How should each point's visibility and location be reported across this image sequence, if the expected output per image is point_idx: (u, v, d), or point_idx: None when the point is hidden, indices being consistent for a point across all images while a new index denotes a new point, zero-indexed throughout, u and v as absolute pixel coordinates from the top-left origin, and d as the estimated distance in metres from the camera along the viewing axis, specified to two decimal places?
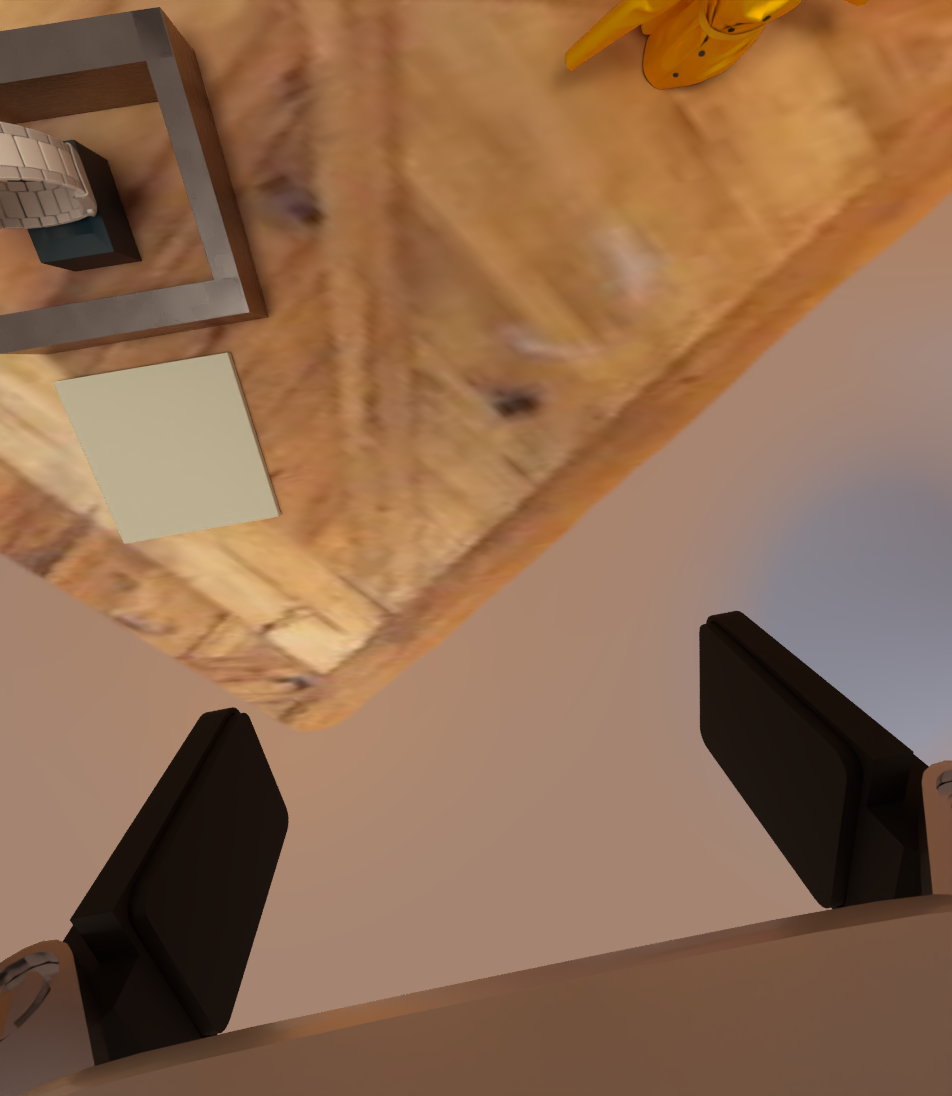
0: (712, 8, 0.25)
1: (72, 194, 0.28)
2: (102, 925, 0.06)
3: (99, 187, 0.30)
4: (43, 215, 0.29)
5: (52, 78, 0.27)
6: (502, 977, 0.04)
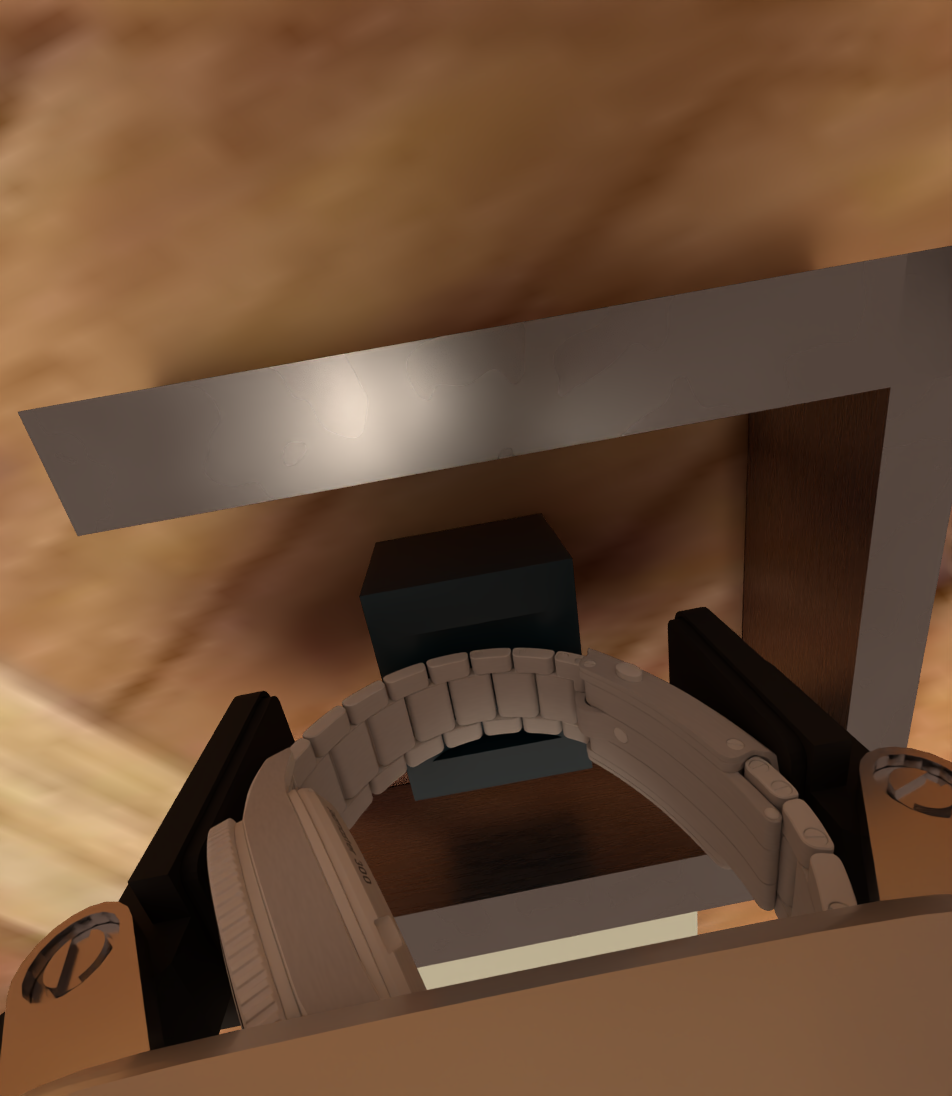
0: None
1: (593, 735, 0.10)
2: (157, 887, 0.06)
3: None
4: (455, 726, 0.11)
5: (588, 438, 0.09)
6: (502, 977, 0.04)
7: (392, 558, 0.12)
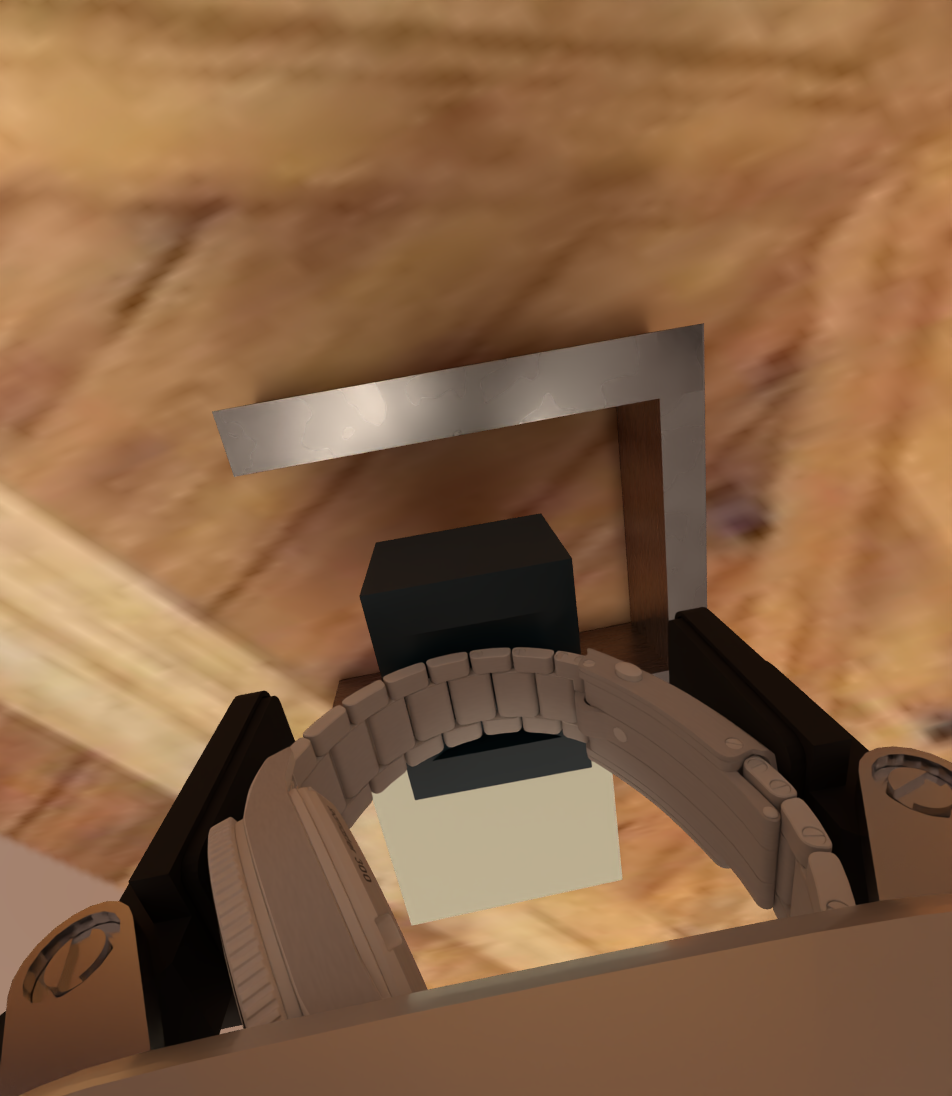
0: None
1: (592, 734, 0.10)
2: (158, 887, 0.06)
3: None
4: (455, 726, 0.11)
5: (502, 425, 0.16)
6: (502, 977, 0.04)
7: (392, 558, 0.12)
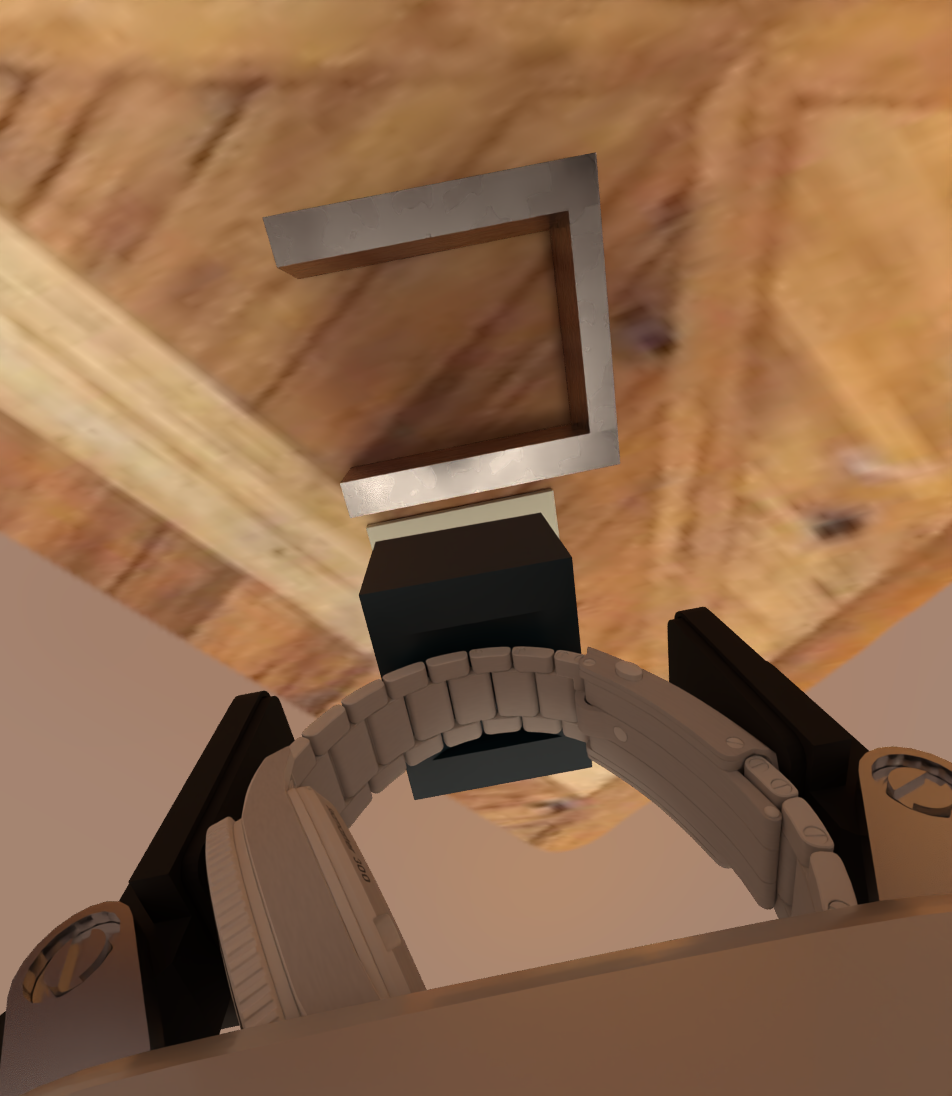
0: None
1: (592, 734, 0.10)
2: (158, 887, 0.06)
3: None
4: (454, 725, 0.11)
5: (459, 232, 0.24)
6: (502, 977, 0.04)
7: (392, 557, 0.12)
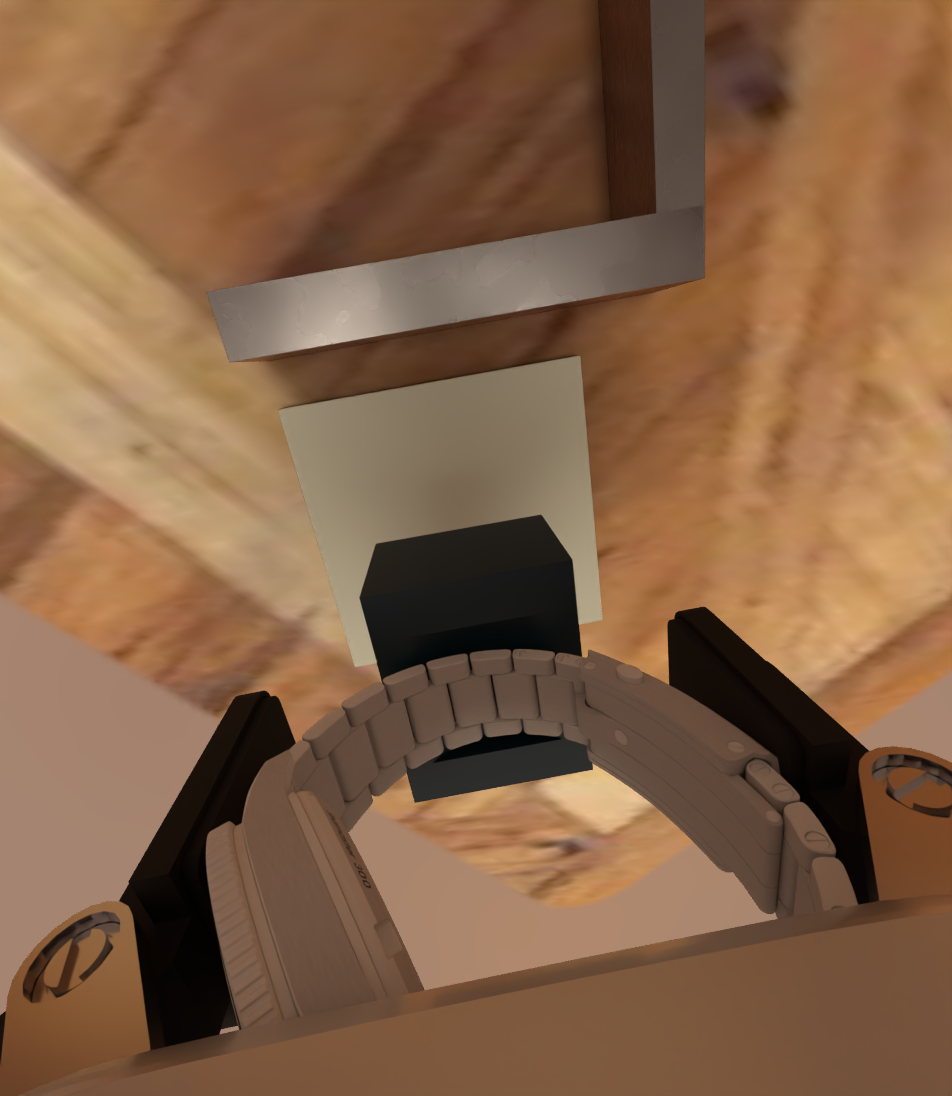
0: None
1: (593, 737, 0.10)
2: (158, 887, 0.06)
3: None
4: (455, 728, 0.11)
5: None
6: (501, 978, 0.04)
7: (392, 559, 0.12)
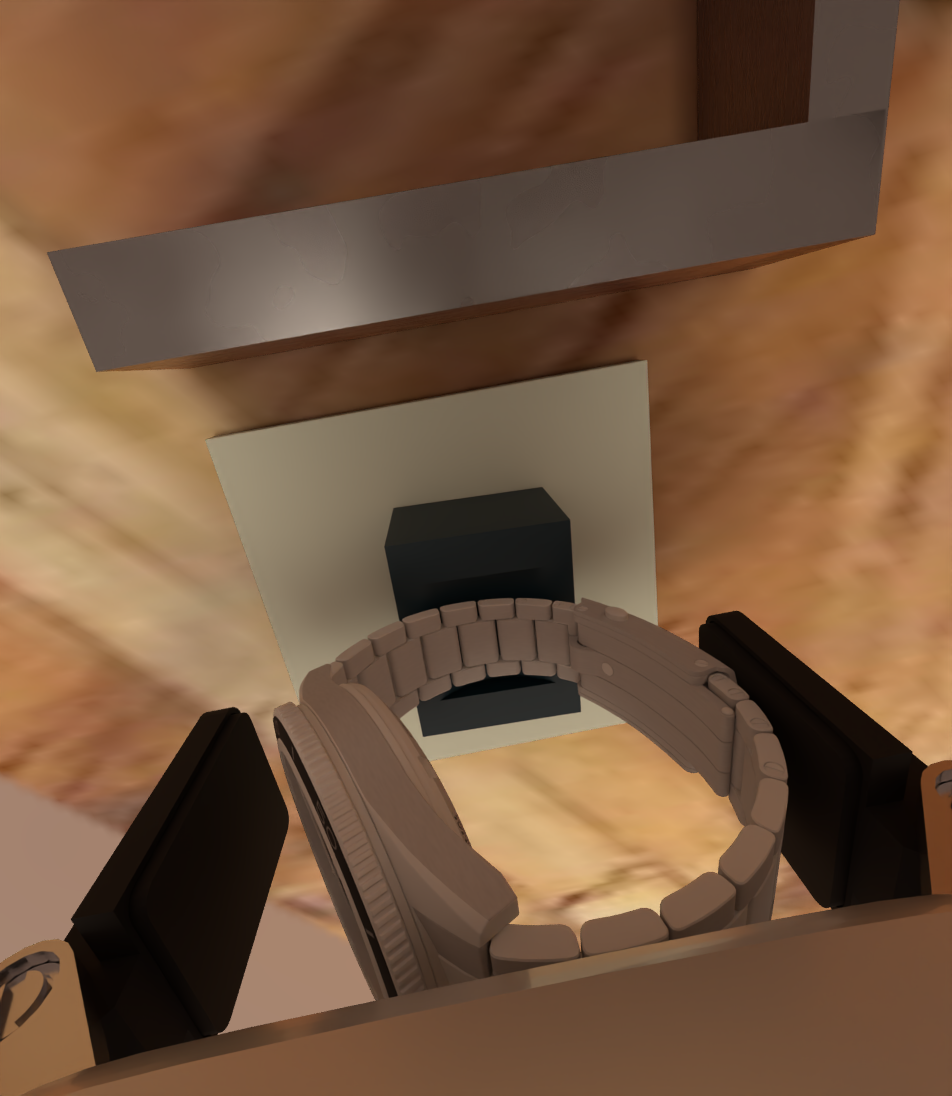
0: None
1: (583, 671, 0.11)
2: (103, 924, 0.06)
3: None
4: (462, 667, 0.12)
5: None
6: (502, 977, 0.04)
7: (410, 519, 0.13)
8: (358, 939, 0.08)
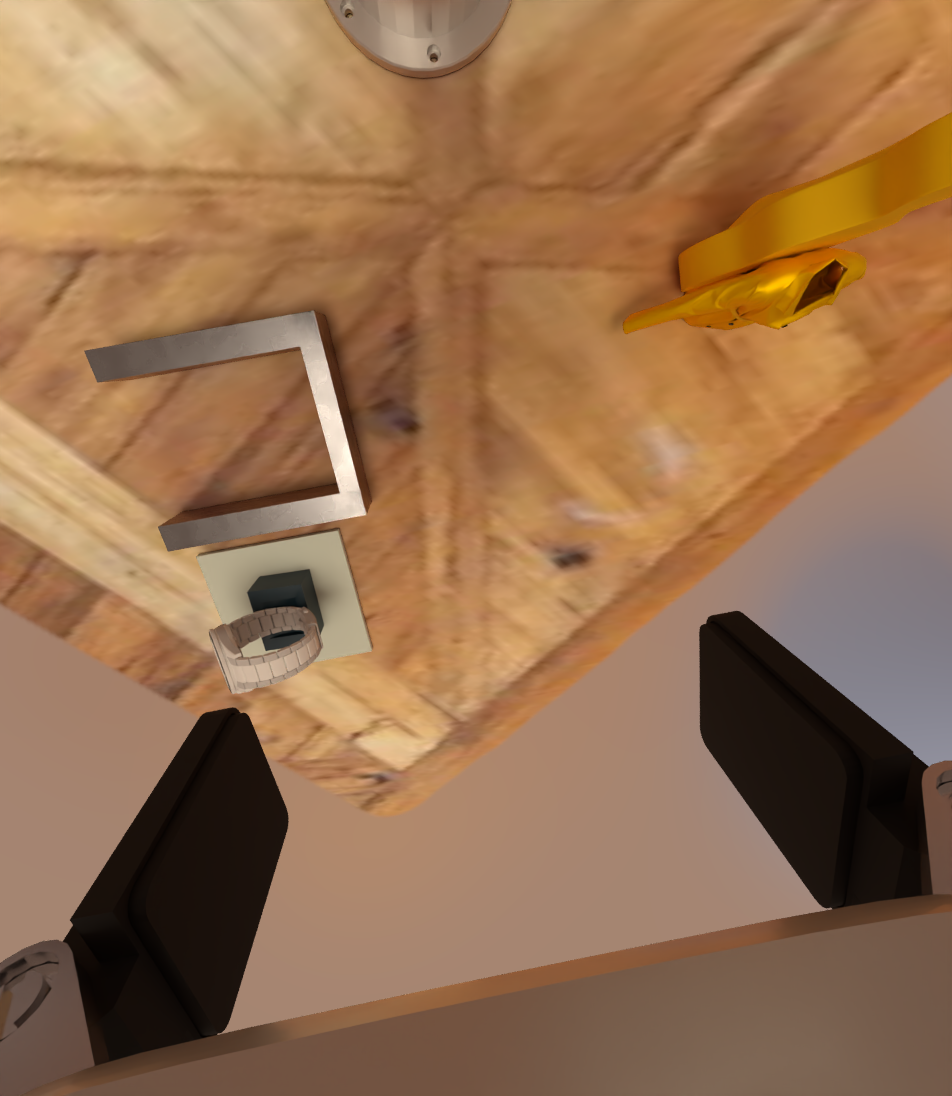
0: (742, 313, 0.33)
1: (301, 627, 0.40)
2: (102, 925, 0.06)
3: (309, 600, 0.42)
4: (273, 627, 0.41)
5: (226, 359, 0.34)
6: (502, 977, 0.04)
7: (260, 581, 0.42)
8: None
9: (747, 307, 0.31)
